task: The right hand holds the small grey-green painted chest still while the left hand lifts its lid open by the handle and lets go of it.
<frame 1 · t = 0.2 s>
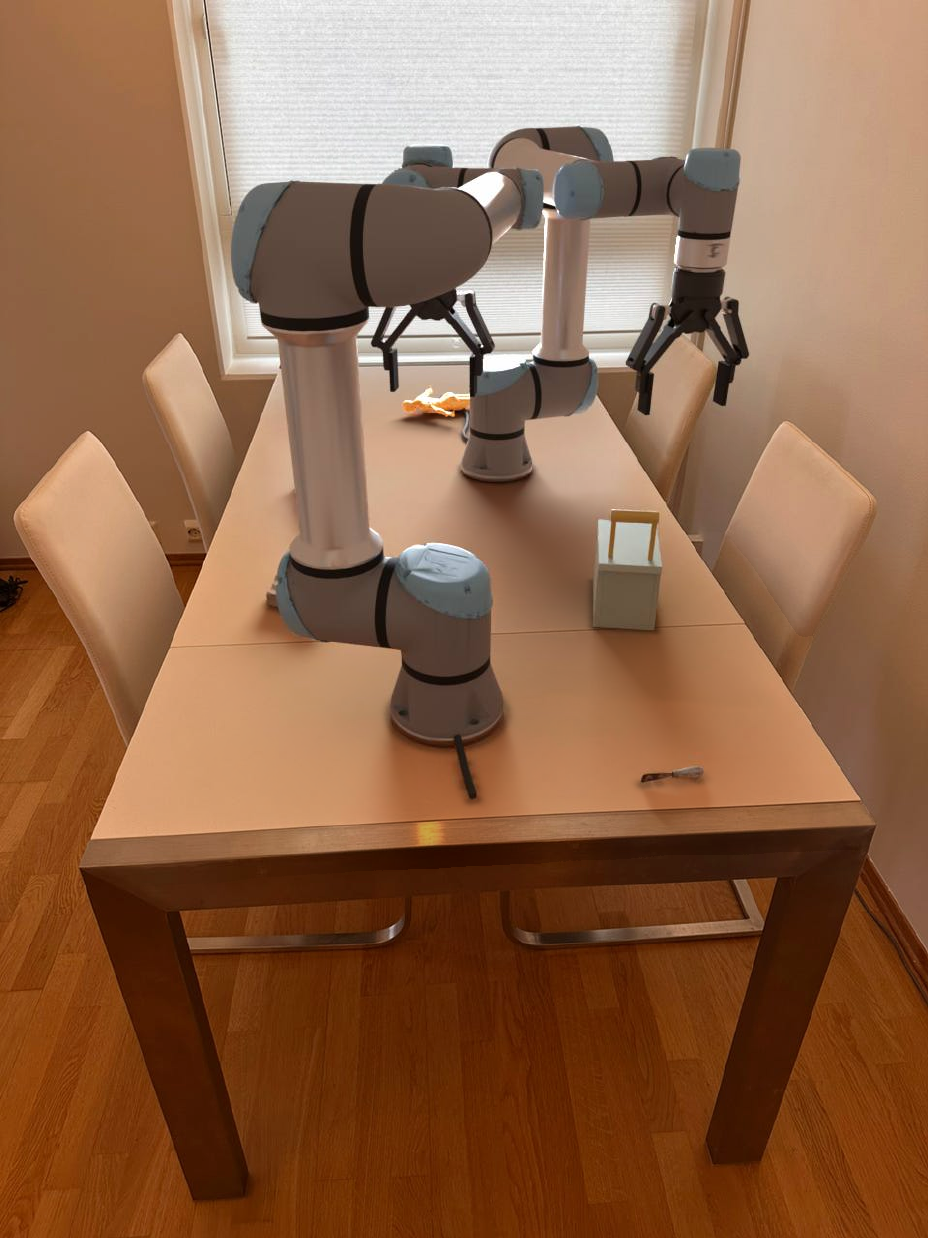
left hand: (433, 392, 149), 28 cm above the table, tool pointing down, fingers open, 13 cm apart
right hand: (681, 408, 142), 28 cm above the table, tool pointing down, fingers open, 13 cm apart
chest: (622, 604, 145), on the table
handgun: (332, 495, 182), on the table
human figure: (450, 410, 226), on the table
putty knife: (671, 781, 109), on the table
lid: (630, 522, 136), point 15 cm above the table, hinge at 0.0°
stone: (305, 604, 145), on the table
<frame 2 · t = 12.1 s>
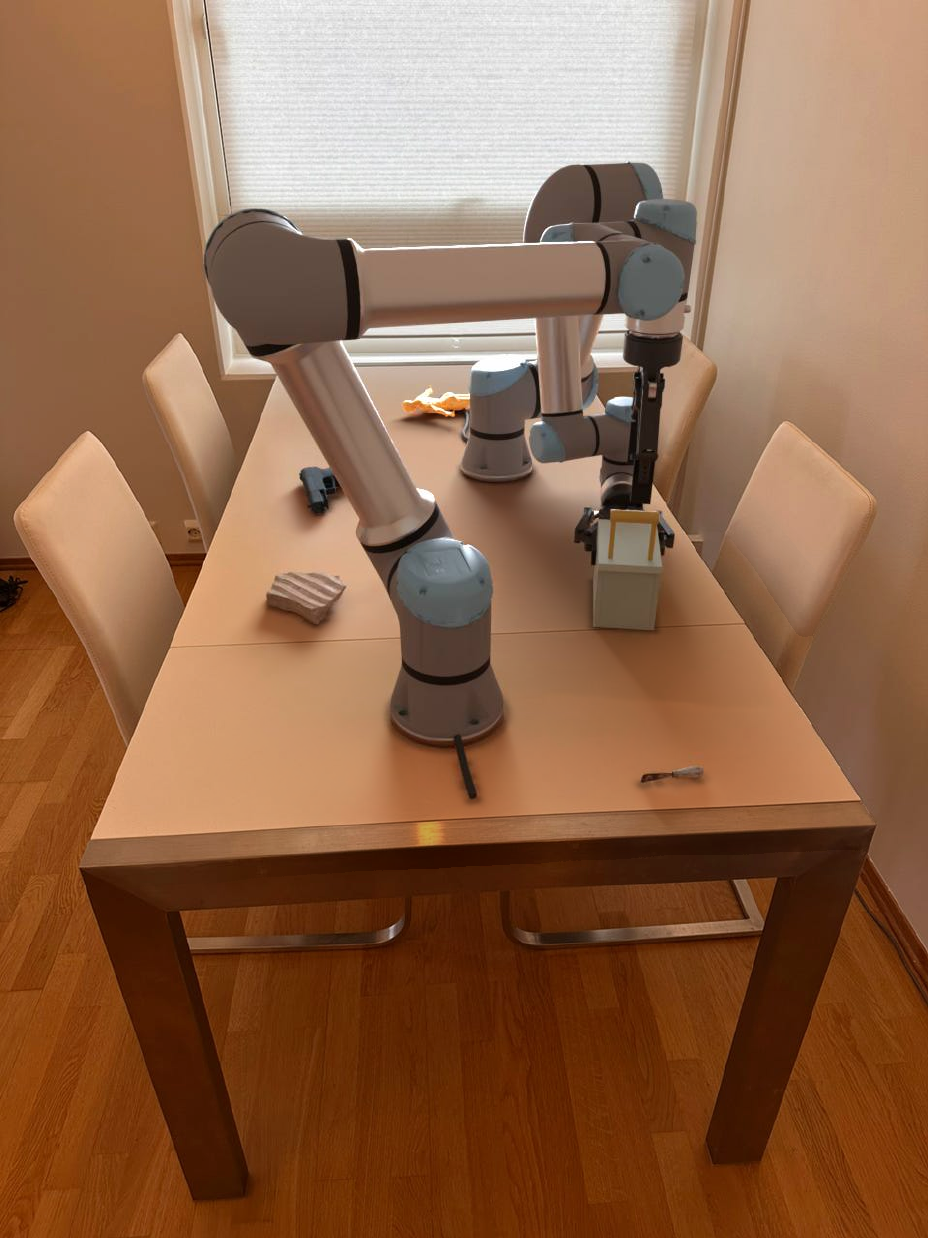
left hand: (638, 483, 127), 24 cm above the table, tool pointing down, fingers open, 13 cm apart
right hand: (625, 559, 144), 7 cm above the table, tool horizontal, fingers closed on chest, 9 cm apart
chest: (622, 604, 145), on the table, touching right hand
everything else where it was.
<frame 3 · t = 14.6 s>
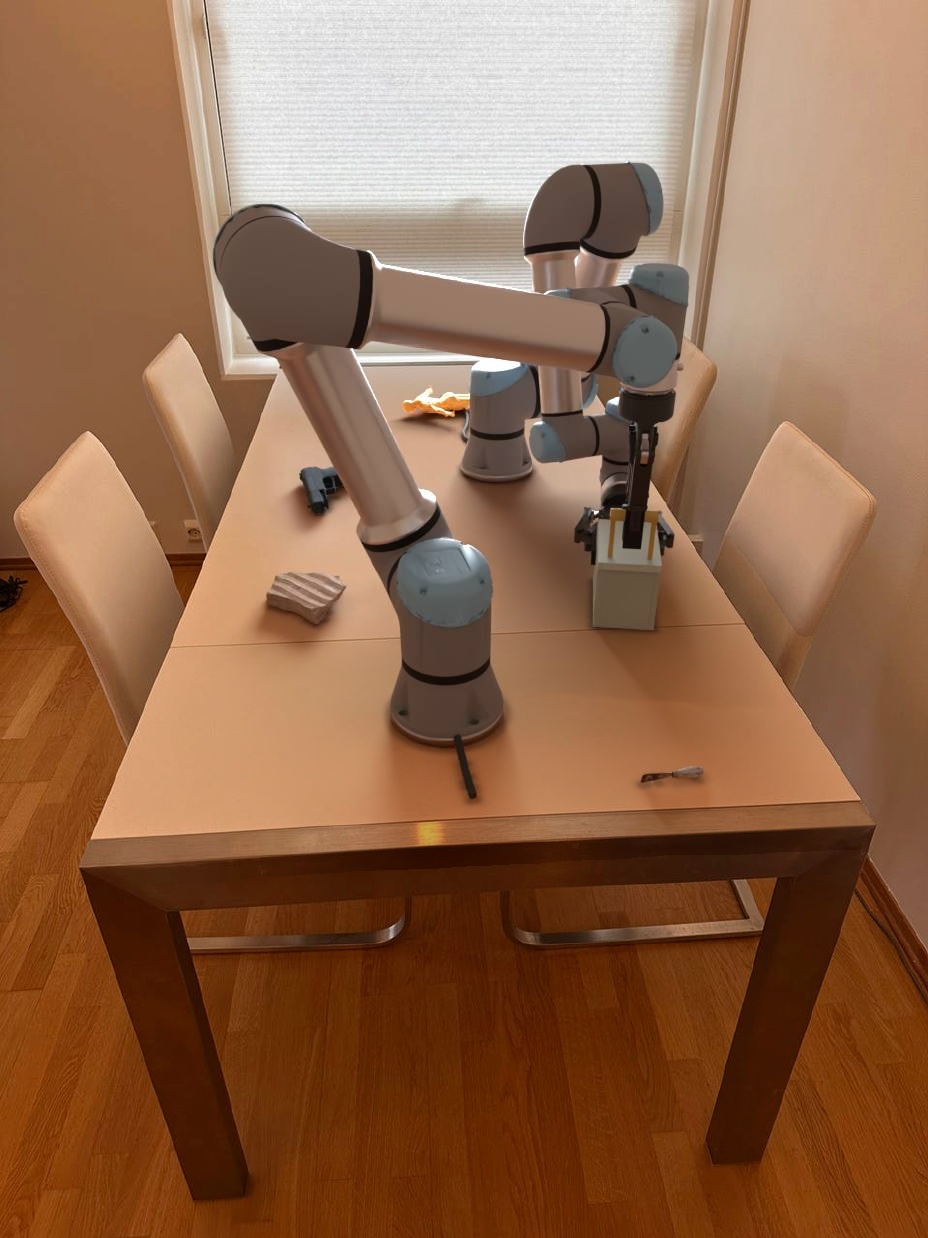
left hand: (631, 543, 132), 14 cm above the table, tool pointing down, fingers closed on lid, 2 cm apart
right hand: (624, 559, 144), 7 cm above the table, tool horizontal, fingers closed on chest, 9 cm apart
chest: (621, 604, 145), on the table, touching right hand
lid: (630, 521, 136), point 15 cm above the table, hinge at 0.7°, touching left hand
everything else where it was.
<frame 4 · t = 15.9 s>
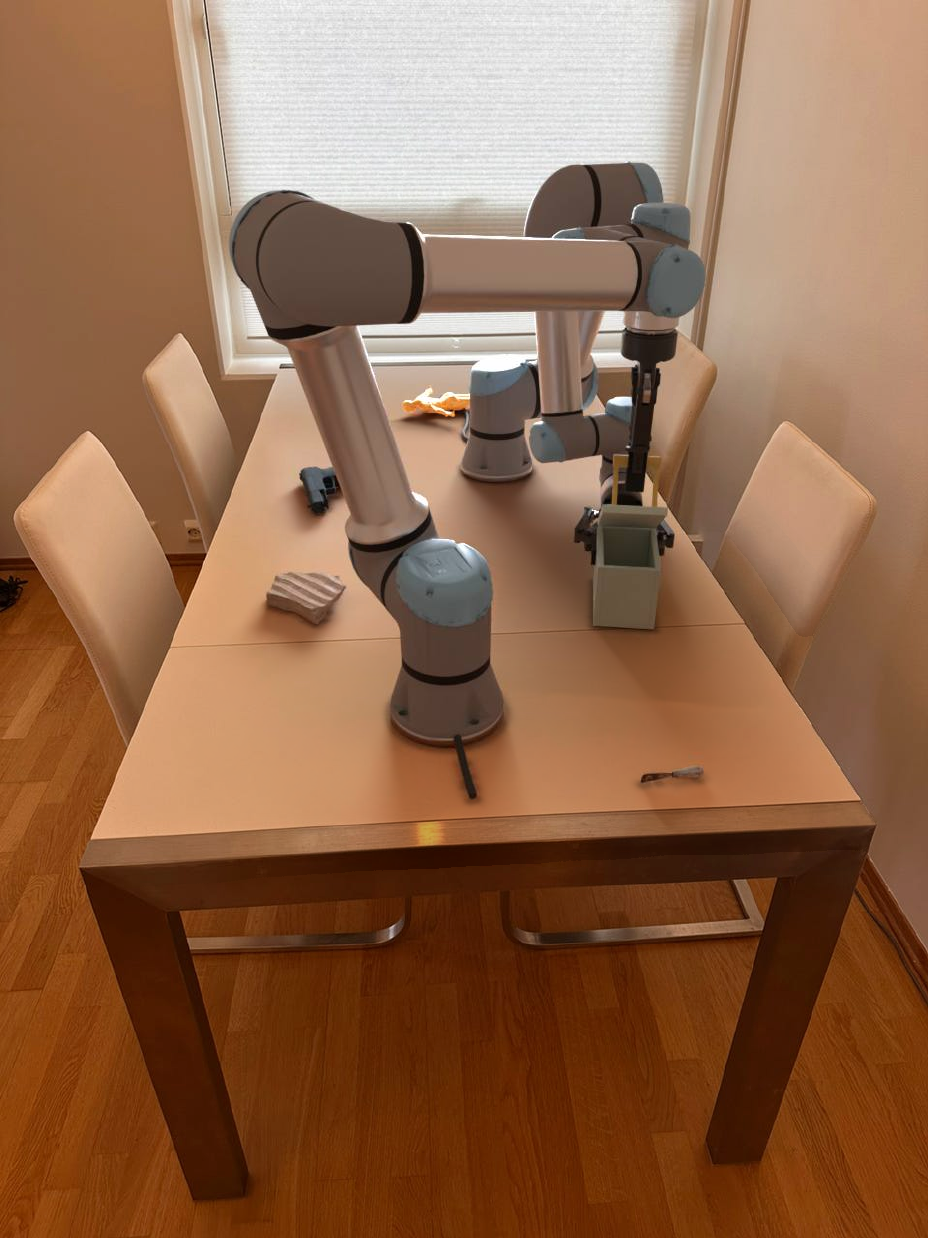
left hand: (634, 487, 134), 20 cm above the table, tool pointing down, fingers closed on lid, 2 cm apart
right hand: (625, 559, 144), 7 cm above the table, tool horizontal, fingers closed on chest, 9 cm apart
chest: (622, 604, 145), on the table, touching right hand
lid: (632, 491, 138), point 18 cm above the table, hinge at 32.6°, touching left hand
everything else where it was.
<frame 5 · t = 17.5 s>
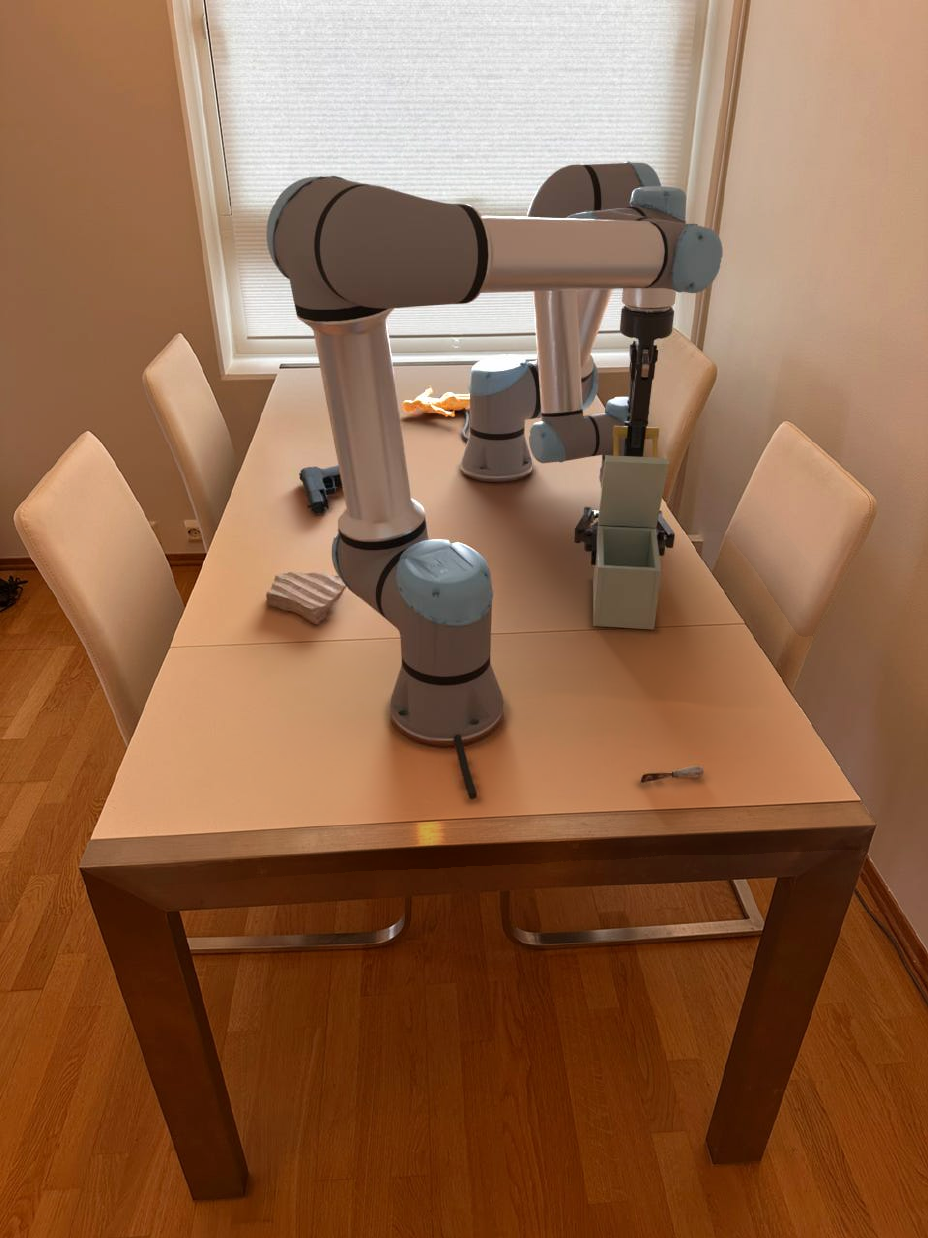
left hand: (632, 459, 140), 22 cm above the table, tool pointing down, fingers open, 3 cm apart
right hand: (625, 559, 144), 7 cm above the table, tool horizontal, fingers closed on chest, 9 cm apart
chest: (622, 604, 145), on the table, touching right hand
lid: (632, 473, 141), point 20 cm above the table, hinge at 63.3°
everything else where it was.
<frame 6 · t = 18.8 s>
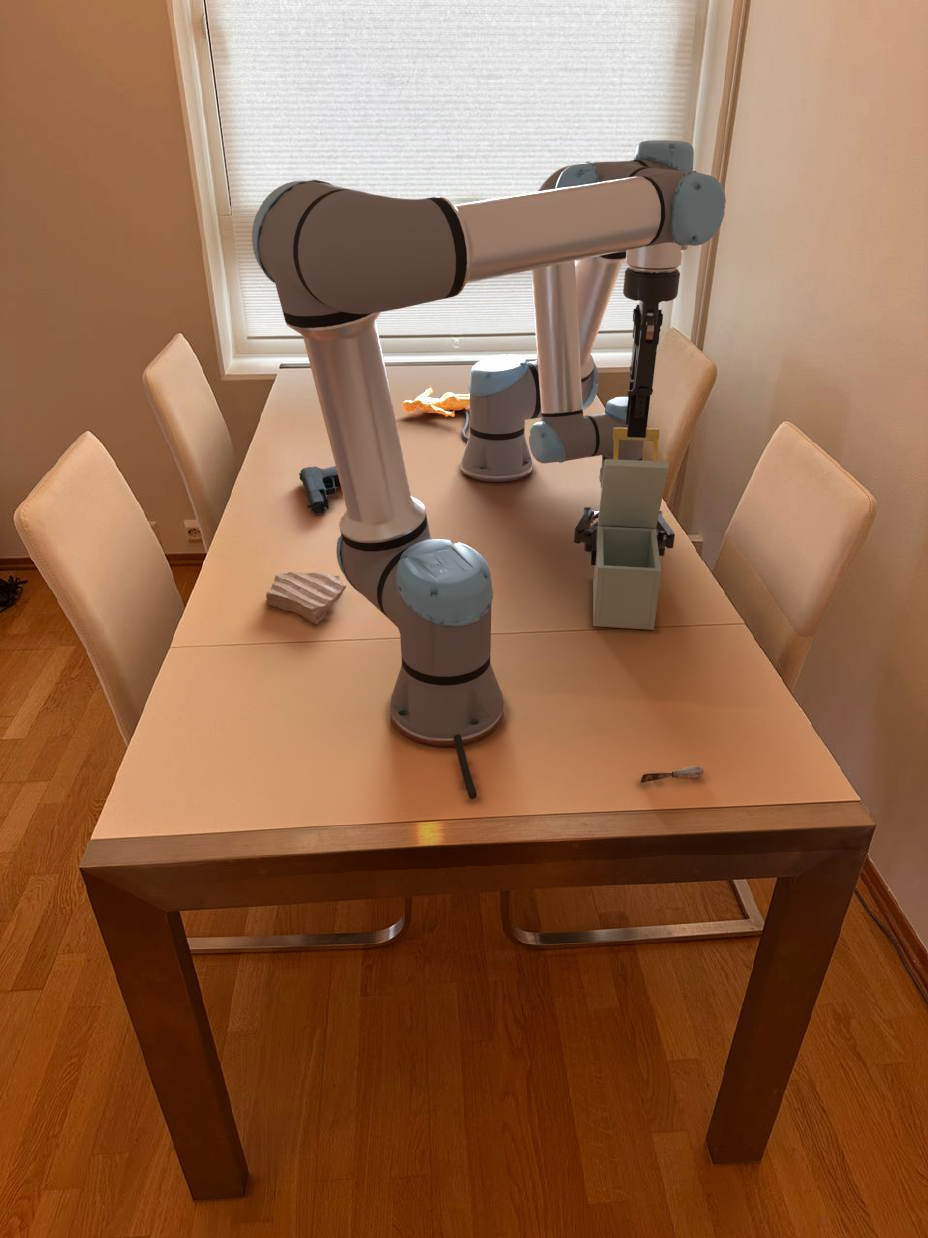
left hand: (635, 429, 135), 27 cm above the table, tool pointing down, fingers open, 5 cm apart
right hand: (625, 559, 144), 7 cm above the table, tool horizontal, fingers closed on chest, 9 cm apart
chest: (622, 604, 145), on the table, touching right hand
lid: (631, 475, 140), point 20 cm above the table, hinge at 60.6°
everything else where it was.
when the right hand's fingers open (7 cm above the table, at t = 21.7 s): chest stays where it is, on the table.
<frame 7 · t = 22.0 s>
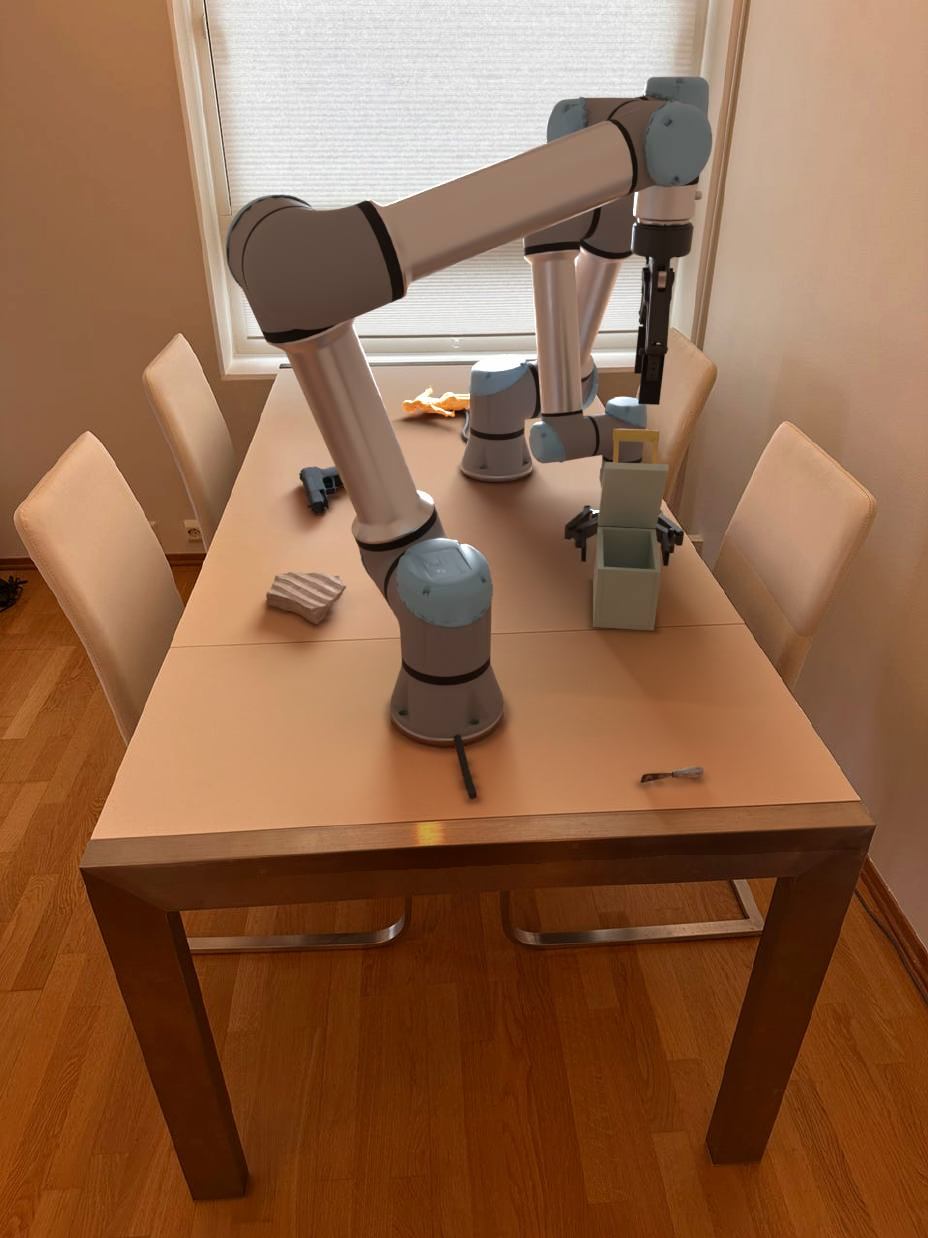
left hand: (646, 387, 123), 37 cm above the table, tool pointing down, fingers open, 13 cm apart
right hand: (624, 556, 145), 7 cm above the table, tool horizontal, fingers open, 13 cm apart
chest: (622, 605, 145), on the table
lid: (631, 476, 140), point 20 cm above the table, hinge at 59.5°
everything else where it was.
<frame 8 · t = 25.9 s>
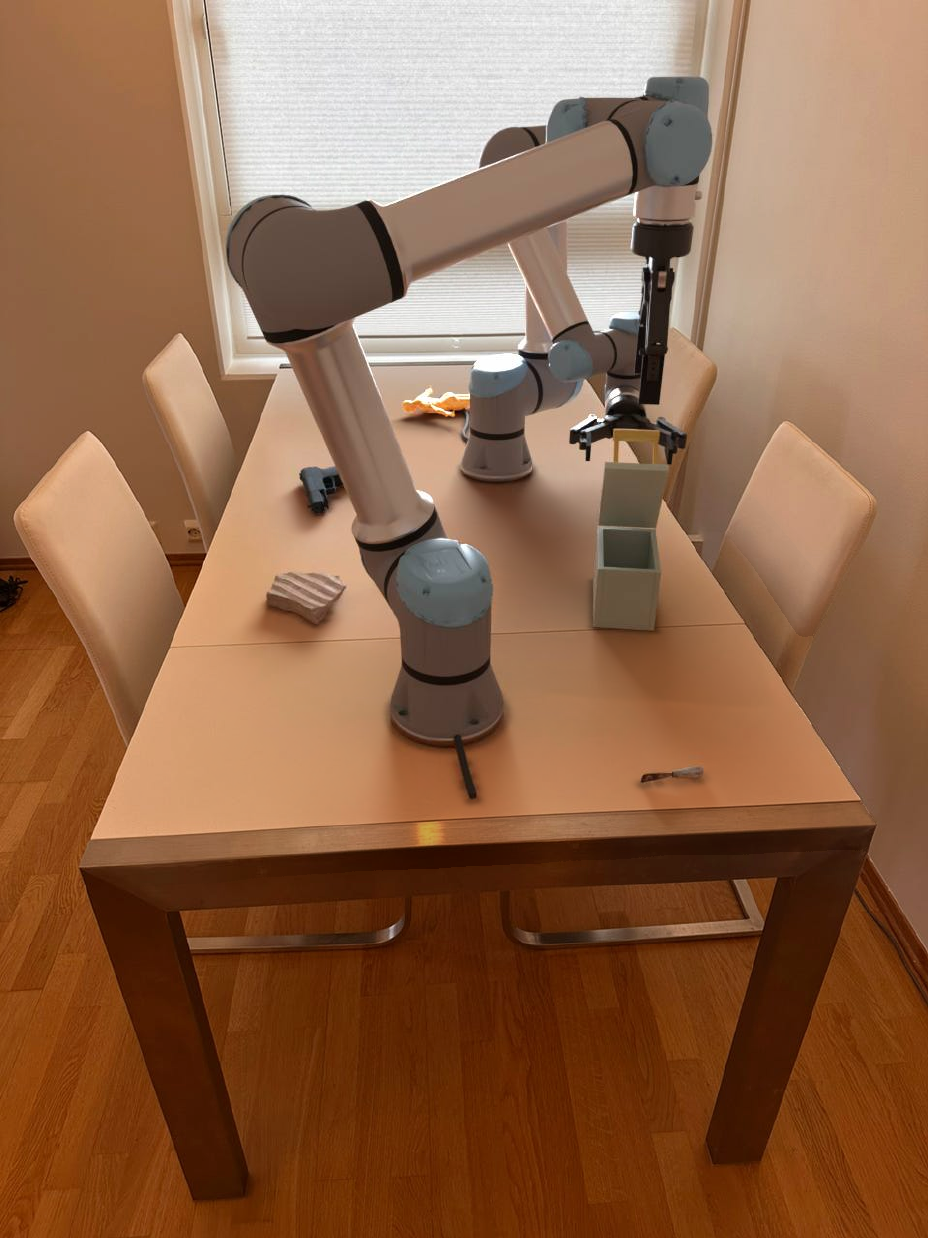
left hand: (646, 387, 123), 37 cm above the table, tool pointing down, fingers open, 13 cm apart
right hand: (629, 455, 150), 19 cm above the table, tool horizontal, fingers open, 13 cm apart
nothing on the table moved.
at the end: lid at +60° (first picture: +0°); the left hand is holding nothing; the right hand is holding nothing; chest tilted 0°; chest never tilted more than 1° during the clip; chest moved 0.1 cm from its start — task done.
